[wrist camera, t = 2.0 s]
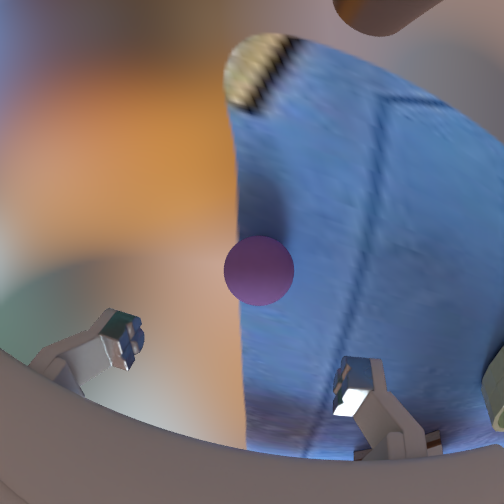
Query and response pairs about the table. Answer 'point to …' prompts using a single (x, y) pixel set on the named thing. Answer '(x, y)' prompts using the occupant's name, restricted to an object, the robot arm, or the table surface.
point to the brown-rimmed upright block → (431, 442)
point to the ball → (258, 270)
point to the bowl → (495, 391)
